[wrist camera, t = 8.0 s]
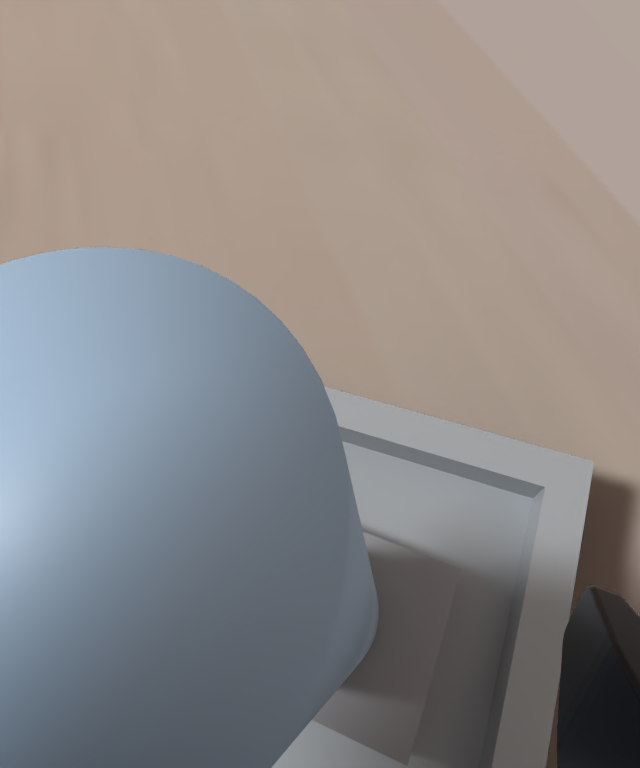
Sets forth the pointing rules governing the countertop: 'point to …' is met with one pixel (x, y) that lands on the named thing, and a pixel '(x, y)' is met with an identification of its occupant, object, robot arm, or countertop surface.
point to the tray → (469, 579)
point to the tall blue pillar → (187, 532)
